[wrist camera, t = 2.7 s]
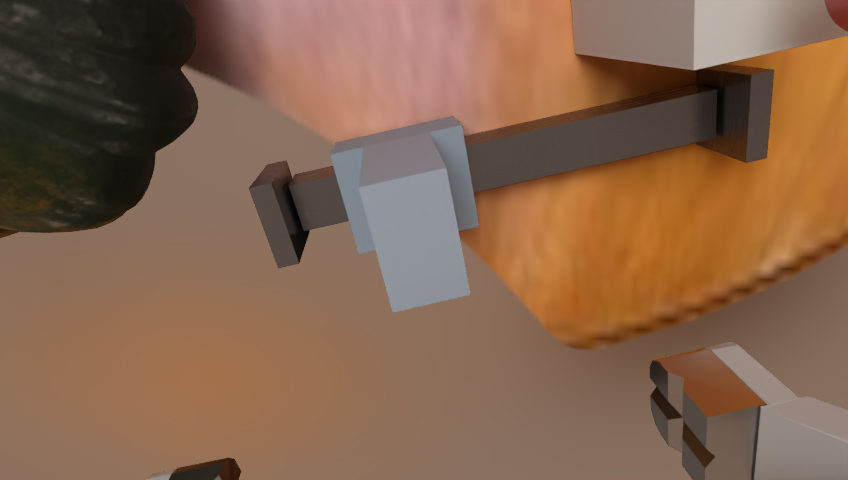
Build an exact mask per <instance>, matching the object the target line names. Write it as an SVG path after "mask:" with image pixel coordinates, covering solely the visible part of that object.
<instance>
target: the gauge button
mask: <svg viewBox="0 0 848 480" xmlns="http://www.w3.org/2000/svg"><path fill="white" fill-rule="evenodd" d="M824 1H825V6H826V8H827V11H828V13H829V15H830V17H831V19H832V20H833V21H834V22H835V23H836V24H837V25H838V26H839V27H840V28H842V29H844V30H845V31H848V0H824Z"/></svg>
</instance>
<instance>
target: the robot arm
mask: <svg viewBox="0 0 848 480" xmlns="http://www.w3.org/2000/svg"><path fill="white" fill-rule="evenodd" d="M650 378H651V380H652V381H653V382H654V383H655V385H656V386H657V387H656V389H655V390H654V391H653V393H652V394H651V396H650V398H651V410H652V414H653V417H654V420H655V424H656V426H657V428H658V430H659V432H660V434H661V435H662V437H663V438H664V440H665V441H666V443H667V444H668V446H670V447H672V448H674V449H676V450H678V451H680V452H682V465H683V467H684V468H685V470H686V471H687V472H688V474H689V475H690V477H691V478H692V479H693V480H848V410H846V409H843V408H840V407H838V406H834V405H832V404H829V403H826V402H823V401H821V400H818V399H815V398H812V397H809V396H807V397H801V398H799V397H798V396H797V395H796V394H794V393H793V392H792V391H791V390H790V389H788V388H787V387H786V386H785V385H784V384H783V383H782V382H780V381H779V380H778V379H777V378H776V377H775V376H773V375H772V374H771V373H770V372H769V371H768V370H766V369H765V368H764V367H763V366H762V365H761V364H759V363H758V362H757V361H756V360H755V359H754V358H752V357H751V356H750V355H749V354H748V353H746V352H745V351H744V350H743V349H742V348H741V347H740V346H738V345H737V344H735V343H732V342H726V343H722V344H718V345H714V346H710V347H706V348H703V349H699V350H695V351H691V352H687V353H682V354H678V355H674V356H670V357H665V358H661V359H657V360H653V361H652V363H651V365H650ZM240 473H241V470H240V468H239V466H238V465H237V463H236V461H235V459H232V458H225V459H220V460H215V461H210V462H205V463H200V464H195V465H190V466H185V467H180V468H178V469H174V470H169V471H163V472H158V473H154V474H152V475H150V476H149V477H148V478H147V479H145V480H239V477H240Z"/></svg>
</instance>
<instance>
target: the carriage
mask: <svg viewBox="0 0 848 480" xmlns="http://www.w3.org/2000/svg"><path fill="white" fill-rule="evenodd" d="M330 156H331V160H332V164H333V167H334V170H335V174H336V177H337V181H338V184H339V188H340V191H341V195H342V198H343V202H344V205H345V208H346V212H347V215H348V219H349V222H350V226H351V229H352V233H353V236H354V240H355V243H356V246H357V250H358V253H359V254H360V253H365V252H370V251H374V250H376V253H377V257H378V261H379V265H380V268H381V272H382V275H383V279H384V283H385V286H386V290H387V294H388V298H389V301H390V305H391V308H392V312H397V311H402V310H406V309H410V308H415V307H419V306H424V305H428V304H433V303H437V302H442V301H446V300H450V299H455V298H459V297H464V296H468V295H471V293H470V288H469V283H468V278H467V273H466V268H465V262H464V257H463V252H462V247H461V242H460V236H459V231H463V230H467V229H472V228H476V227H479V221H478V215H477V209H476V204H475V198H474V192H473V186H472V181H471V175H470V169H469V163H468V158H467V152H466V146H465V140H464V135H463V129H462V125H461V123H460V122H459V121H457V120H456V119H455V118H454V117H453V116H452V117H448V118H443V119H439V120H434V121H430V122H425V123H421V124H417V125H412V126H408V127H403V128H399V129H394V130H390V131H386V132H381V133H377V134H372V135H368V136H363V137H359V138H355V139H350V140H346V141H341V142H337V143H335V146H334V148H333V150H332V151H331V153H330Z"/></svg>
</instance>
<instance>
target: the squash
mask: <svg viewBox="0 0 848 480" xmlns="http://www.w3.org/2000/svg"><path fill="white" fill-rule="evenodd" d="M195 45H196V23H195V18H194V16H193V14H192V12H191V9H190V7H189V6H188V4H187V3H186V1H185V0H0V238H2V237H5V236H8V235H11V234H14V233H17V232H41V233H52V232H72V231H79V230H87V229H94V228H98V227H101V226H103V225H106V224H108V223H111V222H113V221H115V220H116V219H118V218H119V217H120V216H122V215H123V214H124V213H125V212H126V211H127V210H129V209H131V208H132V207H134V206H136V204H137V203H138V202H139V201H140V200H141V199H142V197H143V196H144V194H145V192H146V190H147V188H148V186H149V183H150V180H151V178H152V174H153V170H154V165H155V152H157V151H158V150H160V149H162V148H163V147H165V146H167V145H168V144H170V143H172V142H173V141H174V140H176V139H177V138H178V137H179V136H180V135H181V134H182V133H184V132H185V131H186V130H187V129H188V128H189V127H190V126H191V124H192V123H193V122H194V119H195V117H196V114H197V110H198V100H197V97H196V94H195V91H194V89H193V87H192V86H191V84H190V82H189V81H188V79H187V78H186V77H185V76H184V74H183V73H182V71H181V67H182V66H183V65H184V64H185V63H186V61H187V60H188V59H189V58H190V57H191V55H192V54H193V51H194V48H195Z"/></svg>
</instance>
